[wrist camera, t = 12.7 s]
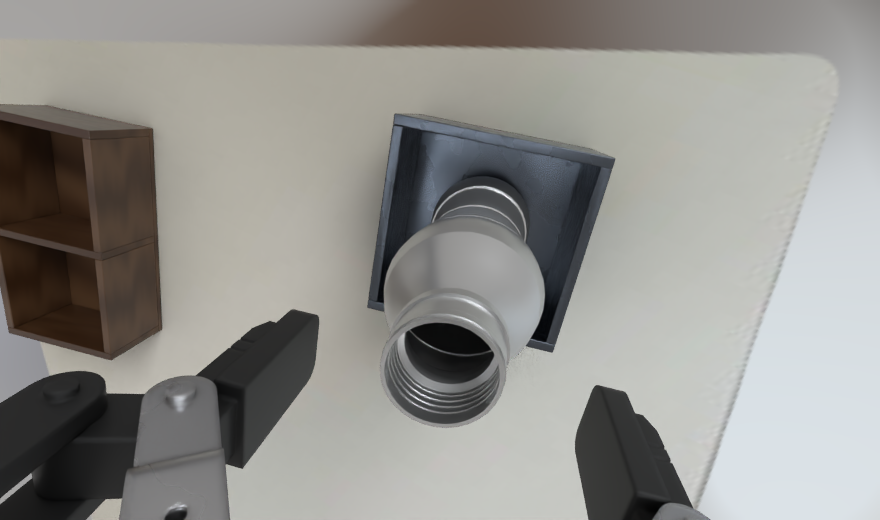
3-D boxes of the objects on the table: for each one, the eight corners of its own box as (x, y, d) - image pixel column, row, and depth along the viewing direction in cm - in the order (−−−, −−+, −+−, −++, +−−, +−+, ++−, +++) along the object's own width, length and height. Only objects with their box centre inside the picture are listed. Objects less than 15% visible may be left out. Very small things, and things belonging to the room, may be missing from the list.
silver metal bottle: (419, 222, 32) (288, 378, 13) (479, 150, 29) (426, 213, 11) (484, 277, 32) (450, 503, 13) (548, 211, 30) (615, 373, 11)
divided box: (45, 105, 34) (-36, 103, 29) (152, 128, 33) (88, 130, 28) (71, 305, 40) (8, 333, 35) (162, 329, 40) (111, 360, 34)
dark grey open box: (418, 113, 30) (394, 113, 24) (592, 148, 29) (615, 158, 22) (393, 271, 34) (366, 307, 28) (544, 307, 33) (552, 353, 27)
